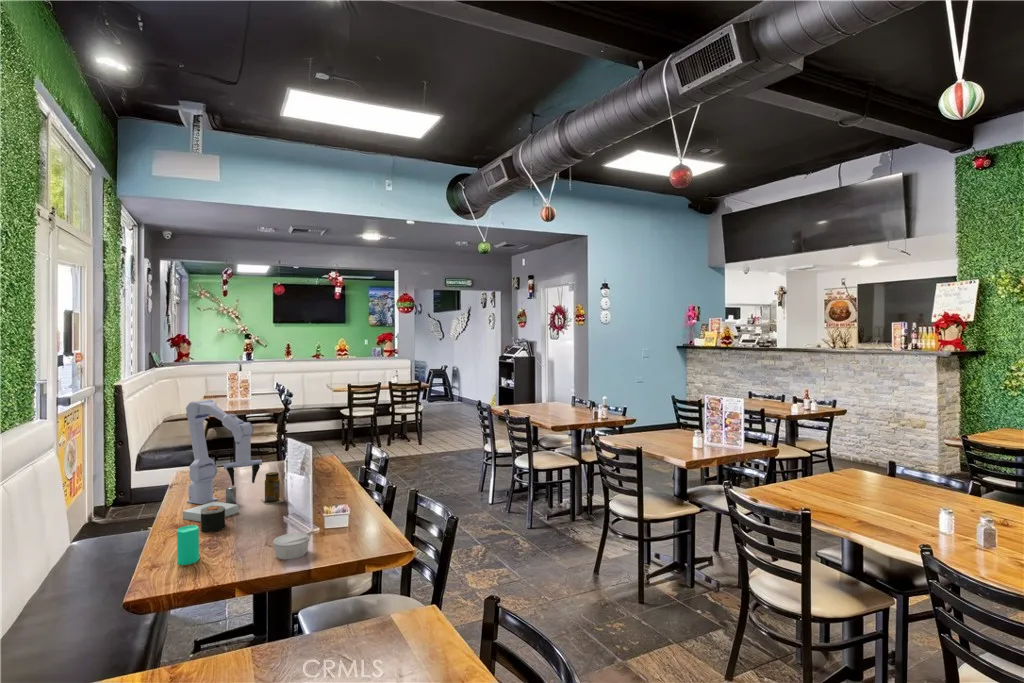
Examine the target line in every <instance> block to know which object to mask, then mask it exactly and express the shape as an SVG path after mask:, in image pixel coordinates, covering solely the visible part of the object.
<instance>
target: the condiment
mask: <svg viewBox="0 0 1024 683" xmlns="http://www.w3.org/2000/svg"><path fill="white" fill-rule="evenodd" d="M279 475H280V474H279V472H277V471H270V472H267V473H265V480H264V499H263V498H262V499H261V502H263V503H264V504H266V505H272V504H277V503H282V502H284V500H283V499H282V498H280V497H281V496H280V495H281V490H280V489H281V487H280V478H279Z"/></svg>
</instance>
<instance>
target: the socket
mask: <svg viewBox="0 0 1024 683" xmlns="http://www.w3.org/2000/svg"><path fill="white" fill-rule="evenodd" d="M211 506H223V507H225V518H226V517H229V516H231V515H235V514H237V513H239V511H240V510H239V508H240V506H239V504H237V503H236V504H229V503H226V502H220V501H216V500H214V501H211V502H208V503H205V504H200V505H198V506H195V507H191V508H187V509H185V510H183V511H182V519H183V520H186V521H187V520H188V521H194V522H200V523H201V513H200V512H201V509H203V508H206V507H207V508H208V507H211Z"/></svg>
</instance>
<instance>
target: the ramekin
mask: <svg viewBox="0 0 1024 683" xmlns="http://www.w3.org/2000/svg"><path fill="white" fill-rule="evenodd" d="M309 542H310V535H309V534H308V533H304V532H292V533H286V534H283V535H279V536H277V537H276V538H274V539H273V540H272V545H273V548H274V555H275V557H276V558H277V559H279V560H285V561H286V559H290V560H295V559H294V558H296V559H298V557H299V558H301V556H302V557H303V556H305V554H306V553H307V552H308V547H309Z"/></svg>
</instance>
